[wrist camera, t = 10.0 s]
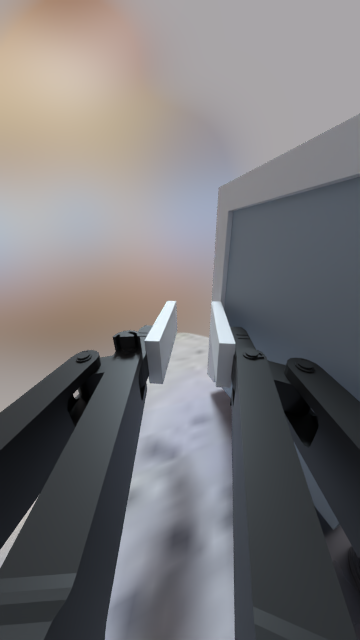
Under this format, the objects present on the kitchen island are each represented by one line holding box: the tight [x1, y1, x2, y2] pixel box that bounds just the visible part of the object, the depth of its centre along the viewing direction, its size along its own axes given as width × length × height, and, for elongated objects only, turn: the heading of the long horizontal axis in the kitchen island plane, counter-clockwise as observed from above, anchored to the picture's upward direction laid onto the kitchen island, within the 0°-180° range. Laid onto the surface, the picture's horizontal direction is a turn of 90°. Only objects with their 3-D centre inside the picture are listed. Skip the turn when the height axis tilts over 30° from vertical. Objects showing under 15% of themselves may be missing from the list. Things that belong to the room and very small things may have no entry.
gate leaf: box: [207, 114, 360, 530], centre depth 11 cm, size 12×2×17 cm, turn 20°
